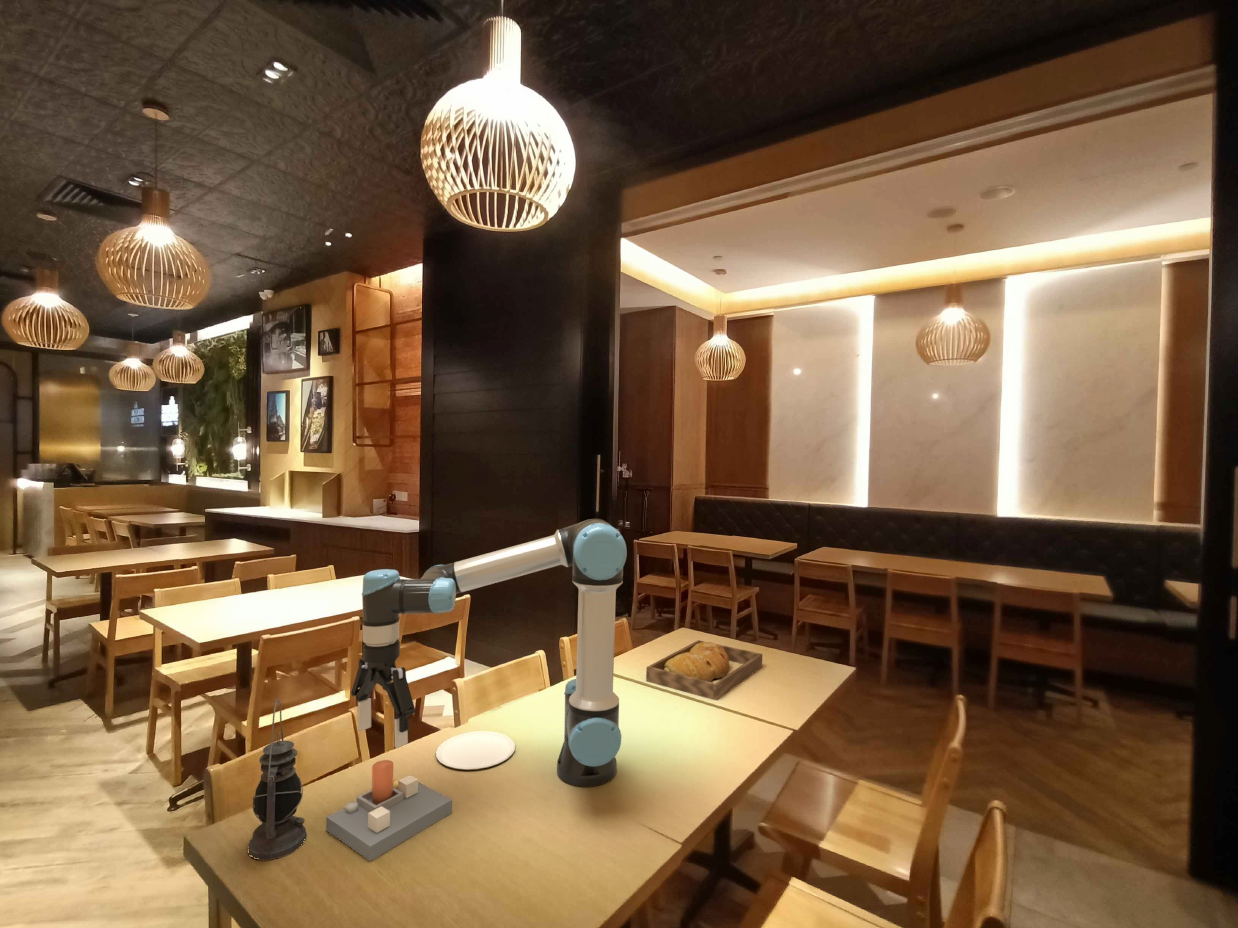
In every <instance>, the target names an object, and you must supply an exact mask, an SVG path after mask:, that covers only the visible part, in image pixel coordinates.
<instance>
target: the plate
mask: <svg viewBox="0 0 1238 928" xmlns="http://www.w3.org/2000/svg"><path fill="white" fill-rule="evenodd" d="M515 751H516V744H515V741H514V740H513V739H512V738H511V737H510V736H508V735H506V734H504V733H500V732H497V731H490V730H489V731H488V730H479V731H469V732H464V733H460V734H456V735H454V736H452V737H450V738H448V739H446V740H444V741H443V742H442V743H441V744H440V745H439V746H438V747H437V748H436V752H435V756H436V757H435V758H436V759H437V761H438V762H439V764H441V765H443V766H445V767H446V768H449V769H454V770H459V771H460V770H461V771H479V770H485V769H488V768H491V767H495V766H498V765H500V764H502V763H504V762H506V761H507V760H508V759H510V758H511V757H512V756H513V754H514V752H515Z"/></svg>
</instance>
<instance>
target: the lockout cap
mask: <svg viewBox="0 0 1238 928" xmlns="http://www.w3.org/2000/svg"><path fill="white" fill-rule="evenodd" d="M371 767H372V768H371V789H372V803H373V804H375V805H378V804H380V803H382V802H384V801H386V800H387V799H389V798H391V797H393V781H394V762H393V761H392V760H389V759H382V760H378V761H376V762H375V763H373V764H372V766H371Z"/></svg>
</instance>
